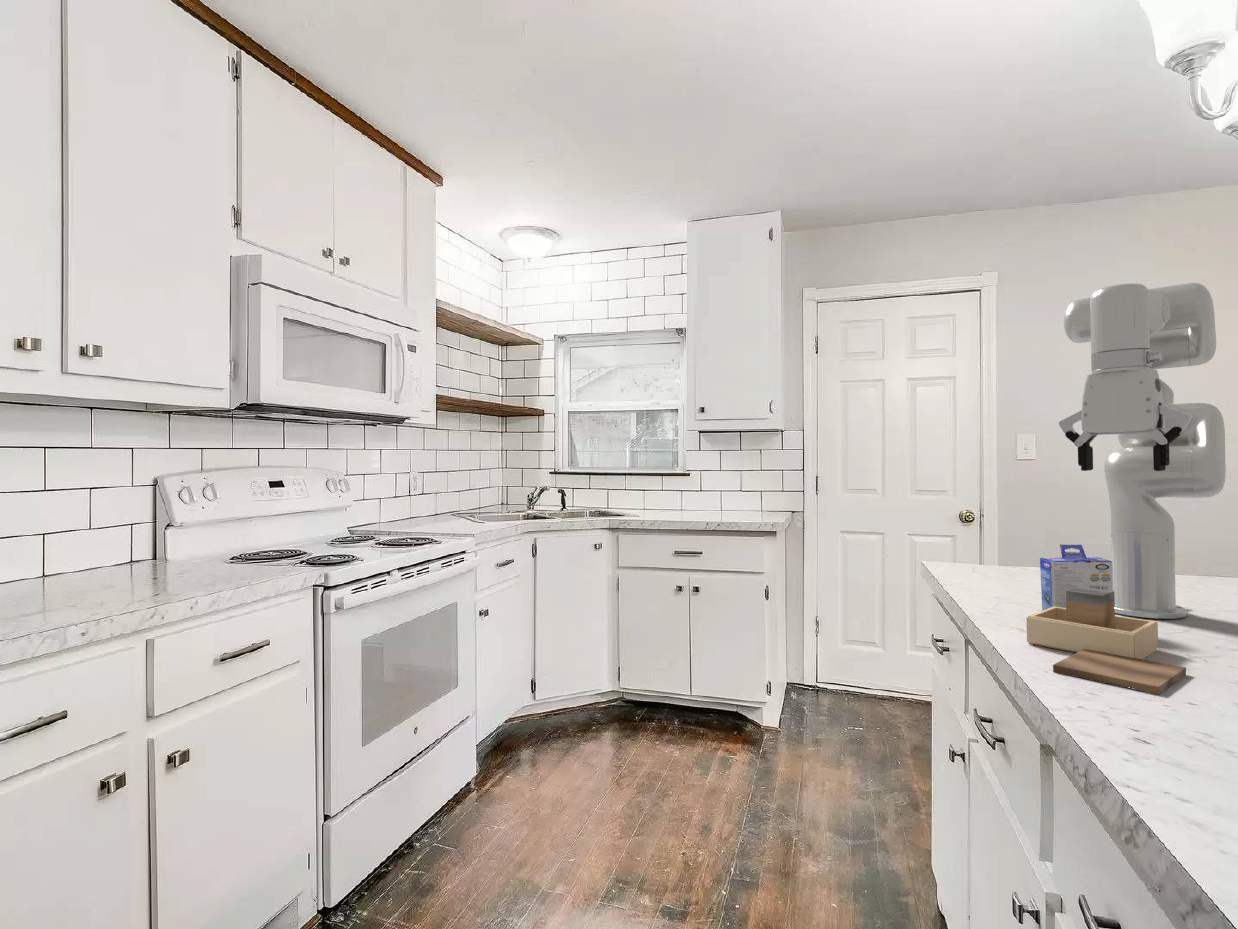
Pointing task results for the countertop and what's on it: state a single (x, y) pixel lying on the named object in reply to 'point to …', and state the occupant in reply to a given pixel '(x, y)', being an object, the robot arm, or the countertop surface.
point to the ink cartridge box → (1072, 575)
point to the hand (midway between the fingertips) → (1122, 470)
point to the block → (1091, 607)
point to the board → (1121, 670)
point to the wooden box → (1093, 634)
